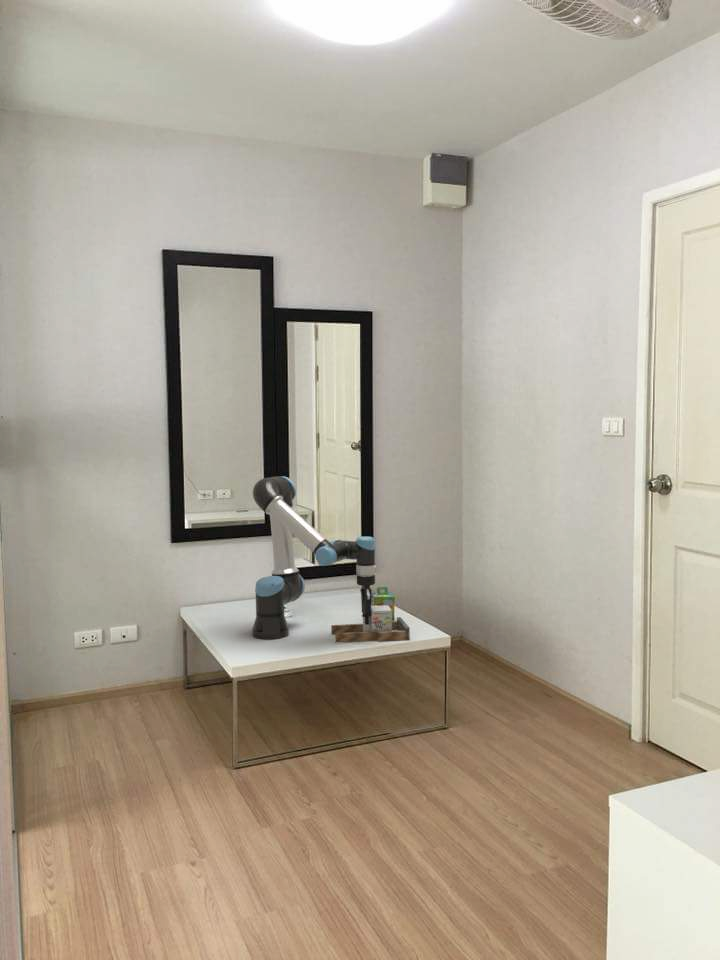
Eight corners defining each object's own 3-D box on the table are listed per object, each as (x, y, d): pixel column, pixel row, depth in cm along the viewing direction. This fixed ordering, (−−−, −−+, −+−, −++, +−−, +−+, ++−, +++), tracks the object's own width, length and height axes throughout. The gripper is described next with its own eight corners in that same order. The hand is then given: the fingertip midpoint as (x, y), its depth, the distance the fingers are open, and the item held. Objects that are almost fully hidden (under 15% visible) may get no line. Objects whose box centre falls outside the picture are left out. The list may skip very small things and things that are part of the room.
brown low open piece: (336, 643, 324) (336, 631, 324) (330, 632, 341) (330, 620, 340) (409, 639, 329) (409, 627, 329) (400, 628, 346) (400, 617, 345)
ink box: (371, 639, 331) (371, 610, 330) (368, 633, 339) (368, 605, 338) (392, 638, 332) (392, 609, 331) (388, 632, 340) (388, 604, 339)
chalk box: (374, 623, 355) (373, 590, 353) (370, 618, 364) (370, 585, 362) (395, 622, 356) (394, 589, 355) (391, 617, 365) (390, 584, 364)
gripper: (377, 577, 327) (378, 635, 329) (372, 571, 339) (372, 626, 341) (359, 578, 325) (359, 636, 327) (354, 572, 338) (354, 627, 340)
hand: (366, 631), depth 334 cm, fingers closed
